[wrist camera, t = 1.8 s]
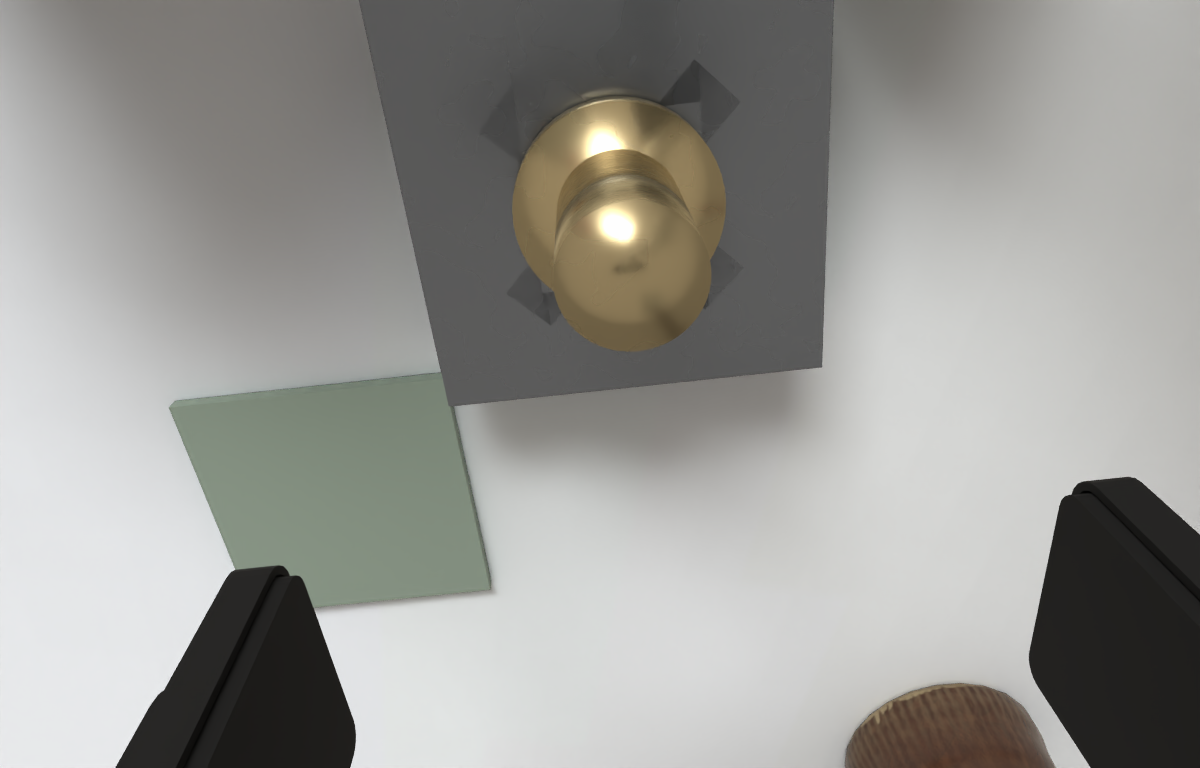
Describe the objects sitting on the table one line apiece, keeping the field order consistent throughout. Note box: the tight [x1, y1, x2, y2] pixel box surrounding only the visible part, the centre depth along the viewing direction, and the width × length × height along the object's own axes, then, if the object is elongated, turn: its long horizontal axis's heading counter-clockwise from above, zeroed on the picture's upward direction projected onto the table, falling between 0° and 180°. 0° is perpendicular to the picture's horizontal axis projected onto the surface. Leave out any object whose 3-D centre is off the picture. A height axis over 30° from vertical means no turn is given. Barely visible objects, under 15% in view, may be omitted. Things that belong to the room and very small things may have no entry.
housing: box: [359, 0, 834, 406], centre depth 29 cm, size 14×14×5 cm
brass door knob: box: [512, 96, 726, 352], centre depth 26 cm, size 7×7×12 cm
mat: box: [169, 373, 491, 608], centre depth 38 cm, size 12×12×1 cm
